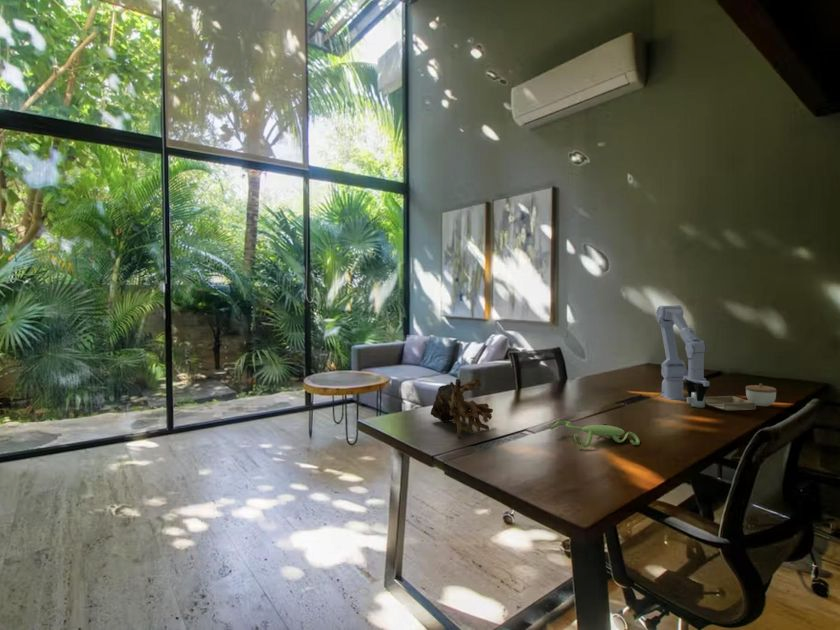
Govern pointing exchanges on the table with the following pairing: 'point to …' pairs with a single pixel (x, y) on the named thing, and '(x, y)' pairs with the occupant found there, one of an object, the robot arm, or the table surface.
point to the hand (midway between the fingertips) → (695, 399)
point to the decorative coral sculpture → (460, 406)
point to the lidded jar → (761, 394)
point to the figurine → (598, 432)
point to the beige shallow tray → (730, 403)
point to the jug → (695, 401)
